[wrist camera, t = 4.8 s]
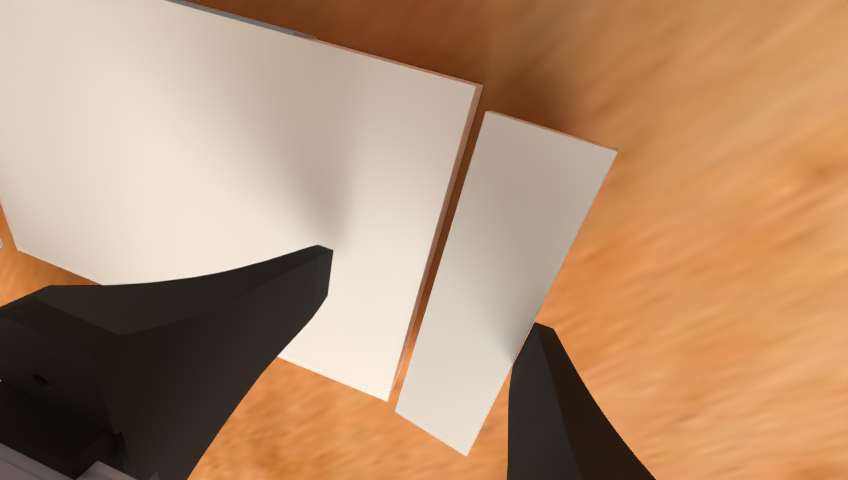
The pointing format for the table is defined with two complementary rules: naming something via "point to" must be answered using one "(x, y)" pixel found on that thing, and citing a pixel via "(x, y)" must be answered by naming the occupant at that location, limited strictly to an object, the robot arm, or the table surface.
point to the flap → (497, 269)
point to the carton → (230, 161)
